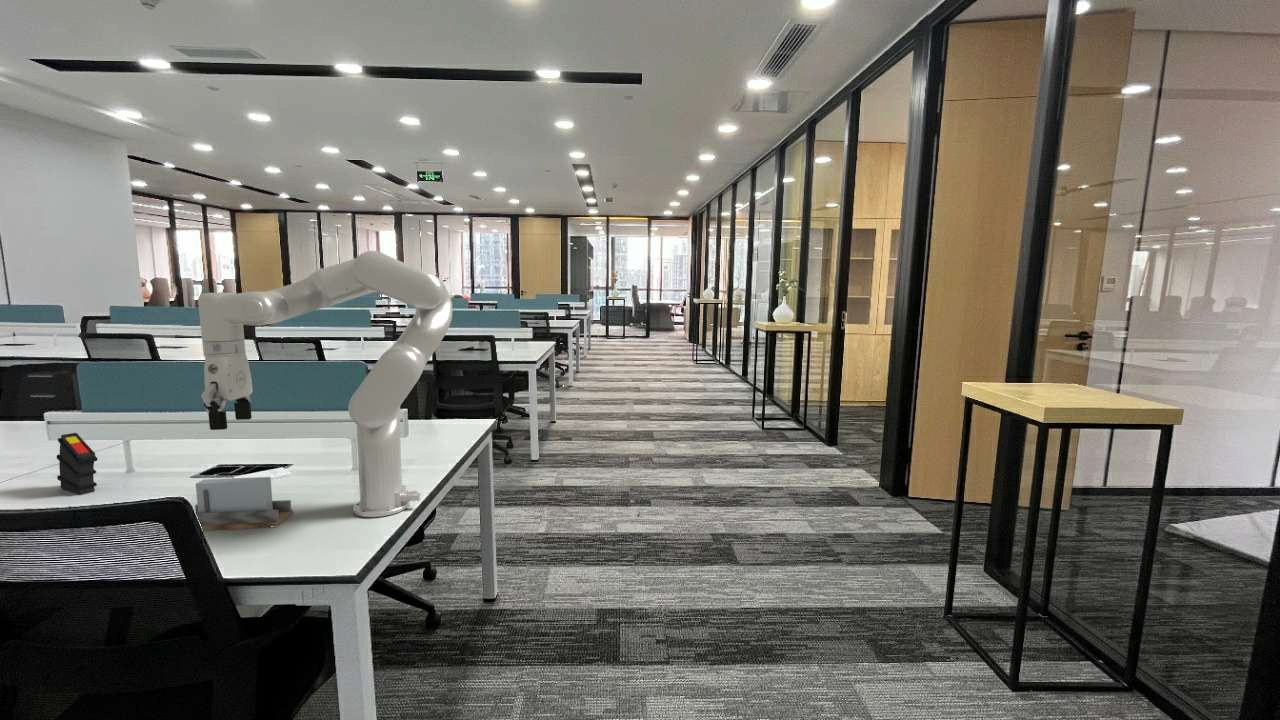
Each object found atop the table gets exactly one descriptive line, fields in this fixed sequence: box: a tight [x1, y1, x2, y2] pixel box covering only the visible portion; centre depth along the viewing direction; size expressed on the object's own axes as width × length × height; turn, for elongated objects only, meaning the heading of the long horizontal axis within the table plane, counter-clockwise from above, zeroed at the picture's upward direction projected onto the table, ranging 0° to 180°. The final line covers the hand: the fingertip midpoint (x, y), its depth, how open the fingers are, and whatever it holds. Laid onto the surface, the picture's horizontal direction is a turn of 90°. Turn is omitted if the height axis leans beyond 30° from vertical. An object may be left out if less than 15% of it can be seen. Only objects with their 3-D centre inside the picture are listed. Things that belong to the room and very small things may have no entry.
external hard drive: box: [231, 466, 293, 481], centre depth 159 cm, size 2×8×12 cm
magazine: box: [56, 432, 98, 495], centre depth 147 cm, size 4×13×15 cm, turn 65°
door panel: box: [195, 477, 273, 513], centre depth 127 cm, size 14×3×9 cm, turn 99°
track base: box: [194, 499, 294, 531], centre depth 128 cm, size 20×8×4 cm, turn 98°
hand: (231, 424), depth 126 cm, fingers open, 9 cm apart
